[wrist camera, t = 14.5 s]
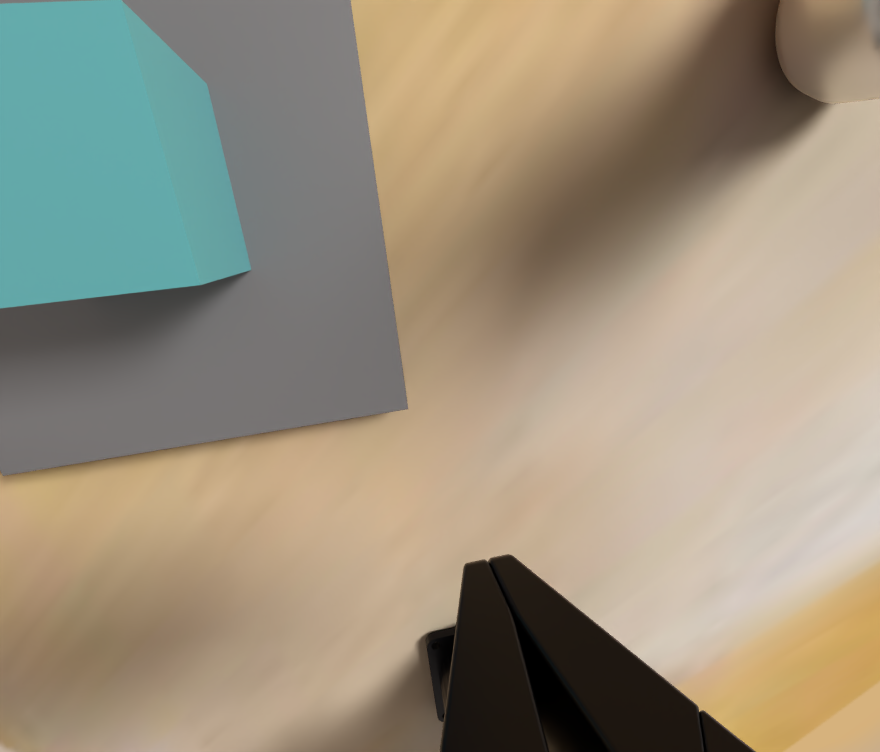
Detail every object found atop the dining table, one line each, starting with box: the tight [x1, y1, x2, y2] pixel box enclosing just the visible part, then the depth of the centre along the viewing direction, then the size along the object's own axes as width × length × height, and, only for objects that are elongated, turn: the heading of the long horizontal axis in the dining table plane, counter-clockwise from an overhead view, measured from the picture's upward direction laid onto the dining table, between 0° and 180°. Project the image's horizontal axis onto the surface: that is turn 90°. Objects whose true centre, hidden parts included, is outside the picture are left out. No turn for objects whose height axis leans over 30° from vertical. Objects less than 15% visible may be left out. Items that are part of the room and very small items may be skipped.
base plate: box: [0, 0, 408, 476], centre depth 14 cm, size 18×15×2 cm
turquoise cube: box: [0, 0, 251, 308], centre depth 11 cm, size 6×6×5 cm
